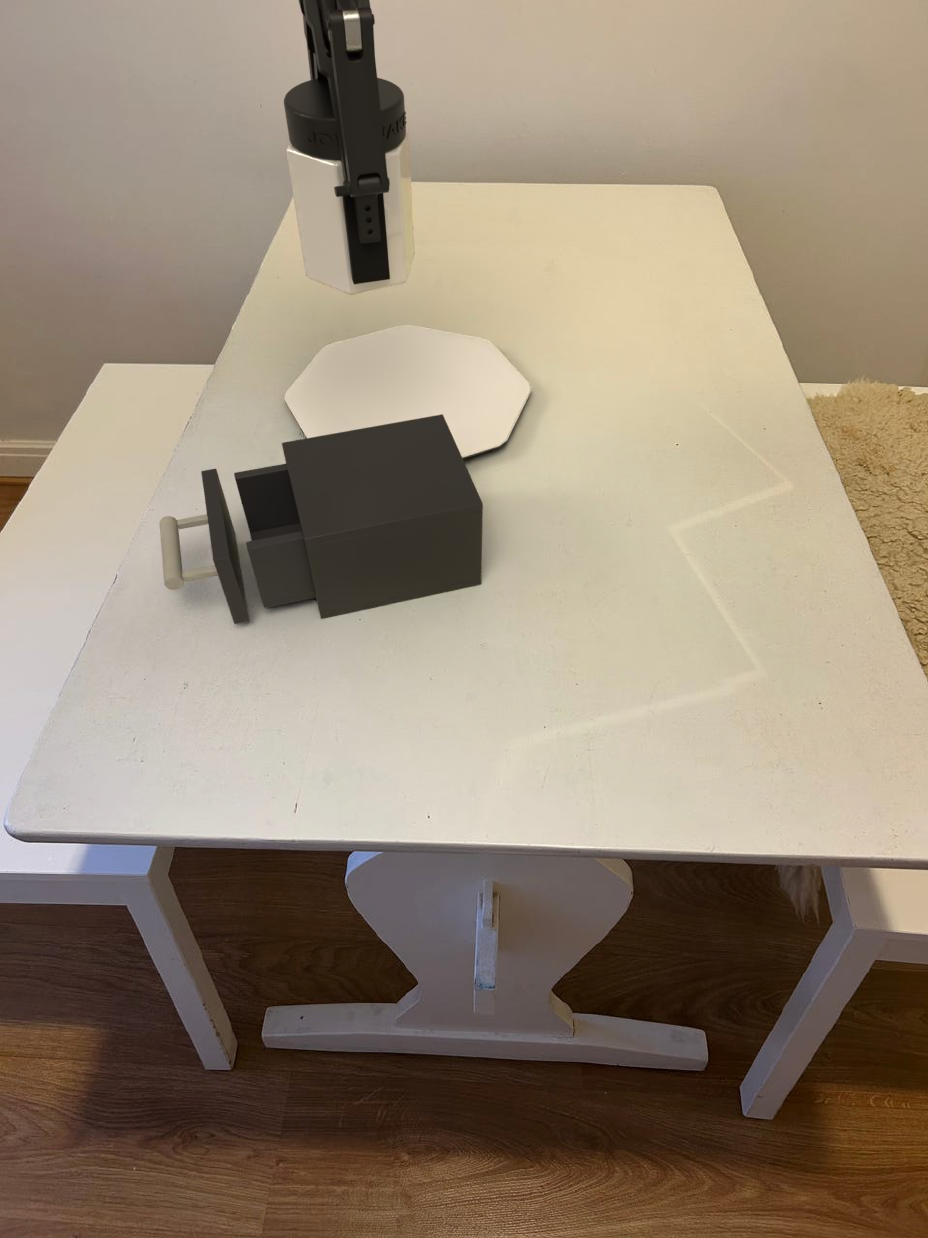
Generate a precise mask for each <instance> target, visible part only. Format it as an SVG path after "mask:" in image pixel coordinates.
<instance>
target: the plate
mask: <svg viewBox="0 0 928 1238" xmlns="http://www.w3.org/2000/svg"><path fill="white" fill-rule="evenodd" d="M531 394H532V387H531V383H530V382H529V381H528V380H527V379H526V378H525V377H524V376H523V374H522V373H521V372H520V371H519V370H518V369H517V368H516V367H515V366H514V364H513V363H511V361H509V359H508V358H507V357H506V356H505V355H504V354H503V352H501V350H499V348H498V347H497V346H496V344H494V343H493V342H492V341H490V340H488V339H487V338H485V337H484V338H483V337H479V336H473V335H469V334H463V333H457V332H452V331H447V330H441V329H435V328H430V327H425V326H420V325H416V324H415V325H414V324H400V325H396V326H392V327H389V328H384V329H381V330H377V331H373V332H369V333H365V334H361V335H358V336H353V337H350V338H347V339H342V340H339V341H335V342H331V343H329V344H327V345H325V346H323V347H321V348H320V349H319V351H318V352H317V353H316V355H314V357H313V358H312V359H311V361H310V362H308V364H307V365H306V367H305V368H304V369H303V371H302V372H301V373H300V374H299V376H298V377H297V378H296V379H295V381H294V382H293V383H292V384H291V385H290V387H289V388H288V389H287V390H286V391H285V393H284V402H285V405H286V406H287V408H288V409H289V411H290V414H292V416H293V418H294V420H295V421H296V423H297V425H298V427H299V428H300V430H301V431H302V433H303V435H304V437H305V439H306V438H312V437H317V436H323V435H328V434H334V433H340V432H345V431H351V430H357V429H362V428H368V427H374V426H379V425H385V424H391V423H396V422H402V421H407V420H413V419H419V418H424V417H430V416H436V415H441V414H443V416H444V418H445V420H446V423H447V425H448V427H449V429H450V432H451V434H452V436H453V438H454V440H455V443H456V445H457V447H458V449H459V452H460V454H461V456H462V458H463V460H465V459H468V458H469V459H470V458H471V457H474V456H477V455H481V454H485V453H487V452H490V451H494V450H497V449H499V448H501V447H503V445H505V444H506V443H507V442H508V440H509V439H510V437H511V435H512V432H513V430H514V429H515V426H516V424H517V422H518V420H519V418H520V417H521V414H522V412H523V410H524V408H525V405H526V404H527V402H528V400H529V397H531Z"/></svg>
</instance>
